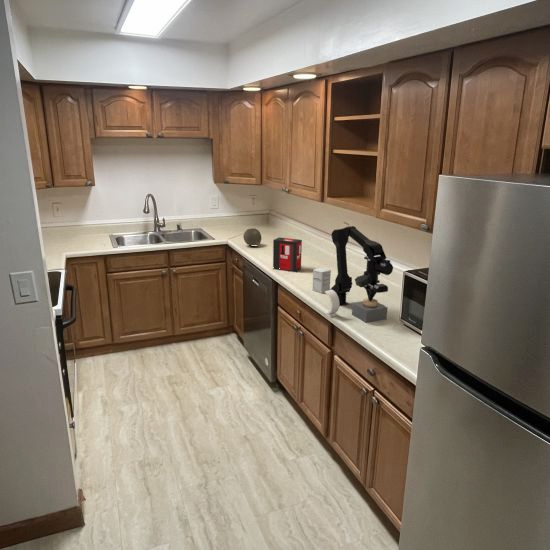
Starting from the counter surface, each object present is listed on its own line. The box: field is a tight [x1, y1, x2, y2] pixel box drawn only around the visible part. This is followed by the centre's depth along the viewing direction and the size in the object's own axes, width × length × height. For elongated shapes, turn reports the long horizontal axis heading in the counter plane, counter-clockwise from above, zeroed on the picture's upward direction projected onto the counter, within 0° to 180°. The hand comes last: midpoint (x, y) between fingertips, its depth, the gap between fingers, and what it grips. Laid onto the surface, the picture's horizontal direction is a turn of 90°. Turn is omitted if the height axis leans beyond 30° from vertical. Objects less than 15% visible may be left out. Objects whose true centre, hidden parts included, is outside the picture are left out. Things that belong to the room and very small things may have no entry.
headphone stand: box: [323, 289, 340, 318], centre depth 219 cm, size 5×6×12 cm
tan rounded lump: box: [362, 297, 379, 307], centre depth 217 cm, size 7×7×6 cm
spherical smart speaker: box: [242, 227, 262, 246], centre depth 358 cm, size 14×14×15 cm
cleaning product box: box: [272, 236, 303, 273], centre depth 296 cm, size 16×9×20 cm, turn 65°
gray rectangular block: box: [351, 300, 388, 324], centre depth 219 cm, size 12×14×6 cm
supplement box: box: [312, 267, 332, 294], centre depth 255 cm, size 7×7×13 cm
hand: (370, 300), depth 217 cm, fingers closed, pressing on tan rounded lump
